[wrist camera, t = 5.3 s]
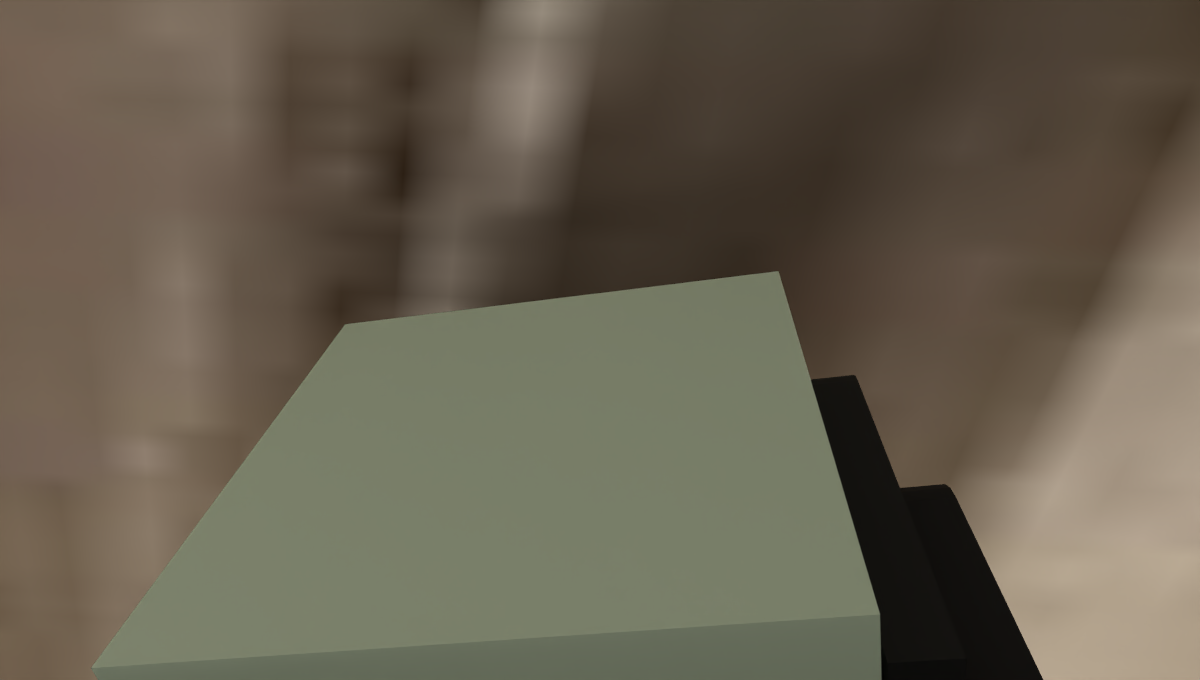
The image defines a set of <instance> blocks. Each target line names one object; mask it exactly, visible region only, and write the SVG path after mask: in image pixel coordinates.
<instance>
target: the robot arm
mask: <svg viewBox="0 0 1200 680" xmlns="http://www.w3.org/2000/svg"><path fill="white" fill-rule="evenodd" d="M811 383H812V386H813V390H814V393H815V396H816V400H817V403H818V406H819V410H820V413H821V417H822V420H823V423H824V427H825V430H826V433H827V437H828V440H829V444H830V447H831V450H832V454H833V457H834V460H835V464H836V467H837V471H838V474H839V477H840V481H841V484H842V488H843V491H844V494H845V498H846V501H847V504H848V508H849V511H850V515H851V518H852V521H853V525H854V528H855V531H856V535H857V538H858V542H859V545H860V548H861V552H862V555H863V558H864V562H865V565H866V569H867V572H868V575H869V579H870V582H871V585H872V589H873V592H874V596H875V599H876V602H877V606H878V609H879V612H880V634H881V680H1043V678H1042V676H1041V674H1040V672H1039V670H1038V668H1037V666H1036V664H1035V662H1034V660H1033V657H1032V655H1031V653H1030V651H1029V649H1028V647H1027V645H1026V643H1025V641H1024V639H1023V637H1022V634H1021V632H1020V630H1019V628H1018V626H1017V624H1016V622H1015V620H1014V618H1013V616H1012V614H1011V611H1010V609H1009V607H1008V605H1007V603H1006V601H1005V599H1004V597H1003V595H1002V593H1001V591H1000V588H999V586H998V584H997V582H996V580H995V578H994V576H993V574H992V572H991V570H990V568H989V565H988V563H987V561H986V559H985V557H984V555H983V553H982V551H981V549H980V547H979V545H978V542H977V540H976V538H975V536H974V534H973V532H972V530H971V528H970V526H969V524H968V522H967V520H966V517H965V515H964V513H963V511H962V509H961V507H960V505H959V503H958V501H957V499H956V497H955V495H954V493H953V492H952V490H951V488H950V487H948V486H947V485H945V484H942V485H931V486H919V487H908V488H900V487H899V485H898V482H897V480H896V477H895V475H894V472H893V469H892V467H891V464H890V462H889V459H888V457H887V454H886V452H885V449H884V446H883V444H882V441H881V439H880V436H879V434H878V431H877V429H876V426H875V424H874V421H873V418H872V416H871V413H870V411H869V408H868V406H867V403H866V401H865V398H864V395H863V393H862V390H861V388H860V385H859V383H858V380H857V378H856V376H854V375H850V376H841V377H831V378H822V379H812V380H811Z"/></svg>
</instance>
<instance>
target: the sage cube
mask: <svg viewBox="0 0 1200 680" xmlns="http://www.w3.org/2000/svg"><path fill="white" fill-rule="evenodd" d="M91 669H92V670H93V672H94V674H95V675H96V677H97V679H98V680H881V634H880V612H879V609H878V606H877V602H876V599H875V596H874V592H873V589H872V585H871V582H870V579H869V575H868V572H867V569H866V565H865V562H864V558H863V555H862V552H861V548H860V545H859V542H858V538H857V535H856V531H855V528H854V525H853V521H852V518H851V515H850V511H849V508H848V504H847V501H846V498H845V494H844V491H843V488H842V484H841V481H840V477H839V474H838V471H837V467H836V464H835V460H834V457H833V454H832V450H831V447H830V444H829V440H828V437H827V433H826V430H825V427H824V423H823V420H822V417H821V413H820V410H819V406H818V403H817V400H816V396H815V393H814V390H813V386H812V383H811V379H810V376H809V373H808V369H807V366H806V363H805V359H804V356H803V352H802V349H801V346H800V342H799V339H798V336H797V332H796V329H795V325H794V322H793V319H792V315H791V312H790V309H789V305H788V302H787V298H786V295H785V292H784V288H783V285H782V282H781V278H780V275H779V271H776V272H768V273H760V274H751V275H743V276H735V277H727V278H719V279H711V280H703V281H694V282H686V283H678V284H670V285H662V286H654V287H646V288H637V289H629V290H621V291H613V292H605V293H597V294H589V295H580V296H572V297H564V298H556V299H548V300H540V301H532V302H523V303H515V304H507V305H499V306H491V307H483V308H475V309H466V310H458V311H450V312H442V313H434V314H426V315H418V316H409V317H401V318H393V319H385V320H377V321H369V322H361V323H352V324H345V325H344V327H343V328H342V329H341V331H340V332H339V333H338V335H337V336H336V337H335V339H334V340H333V342H332V343H331V344H330V346H329V347H328V348H327V350H326V351H325V352H324V354H323V355H322V356H321V358H320V359H319V360H318V362H317V363H316V365H315V366H314V367H313V369H312V370H311V371H310V373H309V374H308V375H307V377H306V378H305V379H304V381H303V382H302V383H301V385H300V386H299V388H298V389H297V390H296V392H295V393H294V394H293V396H292V397H291V398H290V400H289V401H288V402H287V404H286V405H285V406H284V408H283V409H282V411H281V412H280V413H279V415H278V416H277V417H276V419H275V420H274V421H273V423H272V424H271V425H270V427H269V428H268V429H267V431H266V432H265V434H264V435H263V436H262V438H261V439H260V440H259V442H258V443H257V444H256V446H255V447H254V448H253V450H252V451H251V452H250V454H249V455H248V457H247V458H246V459H245V461H244V462H243V463H242V465H241V466H240V467H239V469H238V470H237V471H236V473H235V474H234V475H233V477H232V478H231V479H230V481H229V482H228V484H227V485H226V486H225V488H224V489H223V490H222V492H221V493H220V494H219V496H218V497H217V498H216V500H215V501H214V502H213V504H212V505H211V507H210V508H209V509H208V511H207V512H206V513H205V515H204V516H203V517H202V519H201V520H200V521H199V523H198V524H197V525H196V527H195V528H194V530H193V531H192V532H191V534H190V535H189V536H188V538H187V539H186V540H185V542H184V543H183V544H182V546H181V547H180V548H179V550H178V551H177V553H176V554H175V555H174V557H173V558H172V559H171V561H170V562H169V563H168V565H167V566H166V567H165V569H164V570H163V571H162V573H161V574H160V576H159V577H158V578H157V580H156V581H155V582H154V584H153V585H152V586H151V588H150V589H149V590H148V592H147V593H146V594H145V596H144V597H143V599H142V600H141V601H140V603H139V604H138V605H137V607H136V608H135V609H134V611H133V612H132V613H131V615H130V616H129V617H128V619H127V620H126V621H125V623H124V624H123V626H122V627H121V628H120V630H119V631H118V632H117V634H116V635H115V636H114V638H113V639H112V640H111V642H110V643H109V644H108V646H107V647H106V649H105V650H104V651H103V653H102V654H101V655H100V657H99V658H98V659H97V661H96V662H95V663H94V665H93V666H92V667H91Z"/></svg>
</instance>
